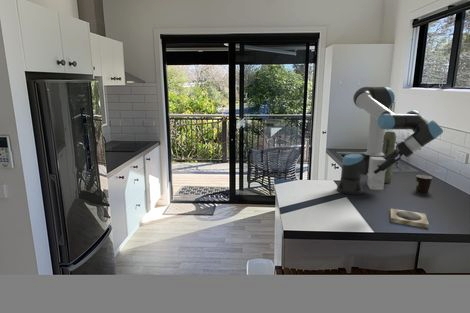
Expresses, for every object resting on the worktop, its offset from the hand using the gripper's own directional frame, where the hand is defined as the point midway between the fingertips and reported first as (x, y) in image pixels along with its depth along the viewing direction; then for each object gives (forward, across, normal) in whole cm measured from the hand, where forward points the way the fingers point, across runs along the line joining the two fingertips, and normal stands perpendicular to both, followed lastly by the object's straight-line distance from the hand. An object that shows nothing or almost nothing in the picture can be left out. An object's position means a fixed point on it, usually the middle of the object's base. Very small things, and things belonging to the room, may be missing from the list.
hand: (369, 173), depth 162 cm
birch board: (0, -1, -29) cm, 29 cm away
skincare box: (+3, 0, -7) cm, 8 cm away
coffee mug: (-7, +54, -37) cm, 66 cm away
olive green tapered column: (+9, +67, -22) cm, 71 cm away
